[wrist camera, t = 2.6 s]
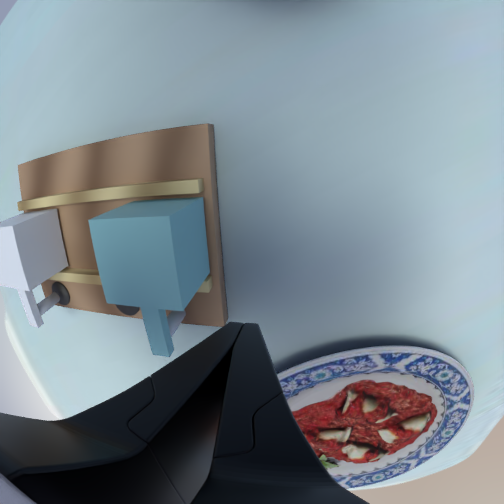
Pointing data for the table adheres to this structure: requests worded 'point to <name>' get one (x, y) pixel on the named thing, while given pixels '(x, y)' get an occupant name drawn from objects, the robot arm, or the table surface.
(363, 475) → the ceramic plate
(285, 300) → the table surface
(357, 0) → the table surface
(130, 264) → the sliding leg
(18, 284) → the fixed leg
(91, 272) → the board
